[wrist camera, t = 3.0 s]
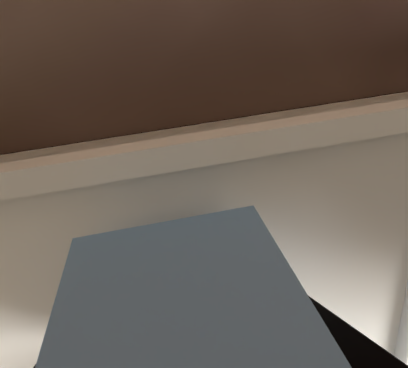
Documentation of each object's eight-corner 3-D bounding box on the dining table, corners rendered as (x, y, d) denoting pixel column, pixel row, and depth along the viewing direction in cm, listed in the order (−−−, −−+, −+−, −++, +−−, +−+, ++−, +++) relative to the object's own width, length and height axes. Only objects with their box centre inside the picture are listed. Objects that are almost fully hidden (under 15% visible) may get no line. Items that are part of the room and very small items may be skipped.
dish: (444, 85, 9) (484, 95, 8) (386, 402, 15) (405, 432, 14) (-195, 185, 8) (-247, 212, 7) (13, 495, 14) (3, 536, 13)
